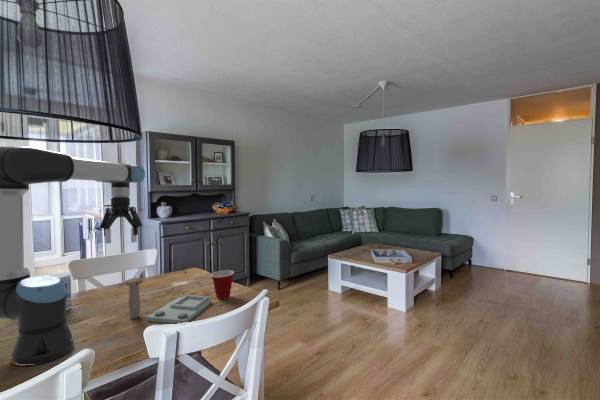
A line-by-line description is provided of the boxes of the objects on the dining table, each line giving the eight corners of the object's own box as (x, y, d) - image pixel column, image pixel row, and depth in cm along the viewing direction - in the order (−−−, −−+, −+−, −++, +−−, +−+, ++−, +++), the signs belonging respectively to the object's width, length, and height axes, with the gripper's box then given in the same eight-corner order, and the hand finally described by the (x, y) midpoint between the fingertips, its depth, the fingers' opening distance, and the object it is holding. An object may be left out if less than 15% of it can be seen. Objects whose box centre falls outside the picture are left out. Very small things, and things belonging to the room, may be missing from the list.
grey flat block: (184, 324, 119) (184, 317, 119) (146, 320, 123) (146, 313, 122) (211, 302, 141) (211, 296, 141) (179, 300, 144) (179, 294, 144)
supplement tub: (61, 315, 127) (59, 279, 126) (36, 315, 127) (35, 279, 126) (77, 305, 137) (75, 272, 136) (54, 305, 137) (53, 272, 136)
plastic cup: (217, 292, 154) (217, 268, 153) (238, 294, 152) (237, 270, 151) (206, 301, 143) (205, 275, 143) (228, 303, 141) (228, 276, 140)
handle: (145, 315, 127) (145, 279, 126) (129, 321, 122) (128, 283, 121) (140, 312, 130) (139, 277, 129) (123, 318, 125) (122, 280, 124)
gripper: (149, 196, 149) (150, 241, 147) (103, 199, 153) (103, 242, 152) (139, 195, 141) (139, 242, 140) (90, 198, 146) (90, 244, 144)
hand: (120, 242), depth 146 cm, fingers open, 13 cm apart
